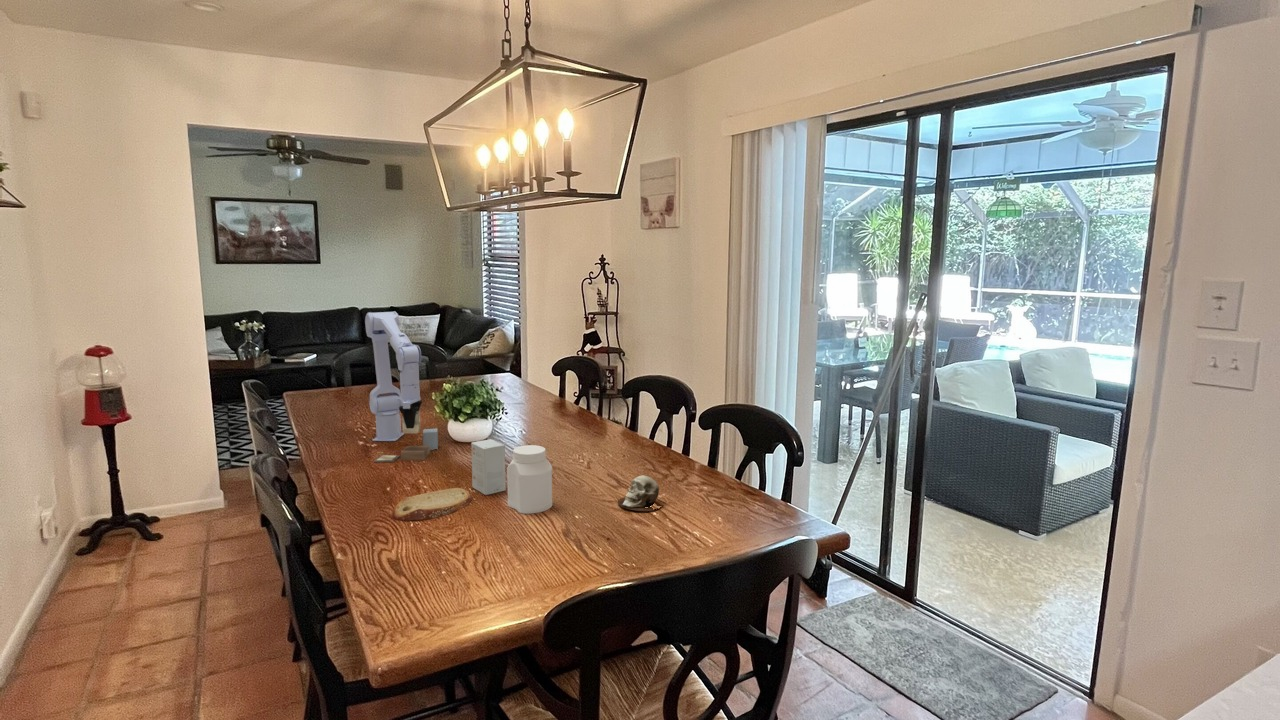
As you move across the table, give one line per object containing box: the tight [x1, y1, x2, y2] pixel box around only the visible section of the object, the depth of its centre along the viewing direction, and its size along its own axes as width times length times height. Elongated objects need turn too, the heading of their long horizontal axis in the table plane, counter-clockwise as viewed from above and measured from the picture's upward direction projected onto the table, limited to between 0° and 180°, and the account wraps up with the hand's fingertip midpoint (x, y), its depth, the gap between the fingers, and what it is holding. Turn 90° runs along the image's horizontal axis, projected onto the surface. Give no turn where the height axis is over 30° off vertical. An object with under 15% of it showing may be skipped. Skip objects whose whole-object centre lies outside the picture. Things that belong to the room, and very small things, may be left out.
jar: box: [506, 444, 553, 515], centre depth 175 cm, size 12×10×15 cm
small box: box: [470, 438, 507, 496], centre depth 187 cm, size 8×6×13 cm
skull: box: [617, 474, 660, 512], centre depth 178 cm, size 12×10×10 cm
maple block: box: [401, 410, 422, 434], centre depth 216 cm, size 4×4×6 cm
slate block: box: [422, 428, 439, 451], centre depth 225 cm, size 4×4×6 cm
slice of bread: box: [391, 487, 472, 522], centre depth 174 cm, size 18×18×4 cm
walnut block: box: [400, 445, 431, 461], centre depth 215 cm, size 7×7×3 cm
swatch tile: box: [373, 454, 401, 463], centre depth 212 cm, size 6×6×1 cm
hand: (411, 426), depth 216 cm, fingers closed on maple block, 5 cm apart
